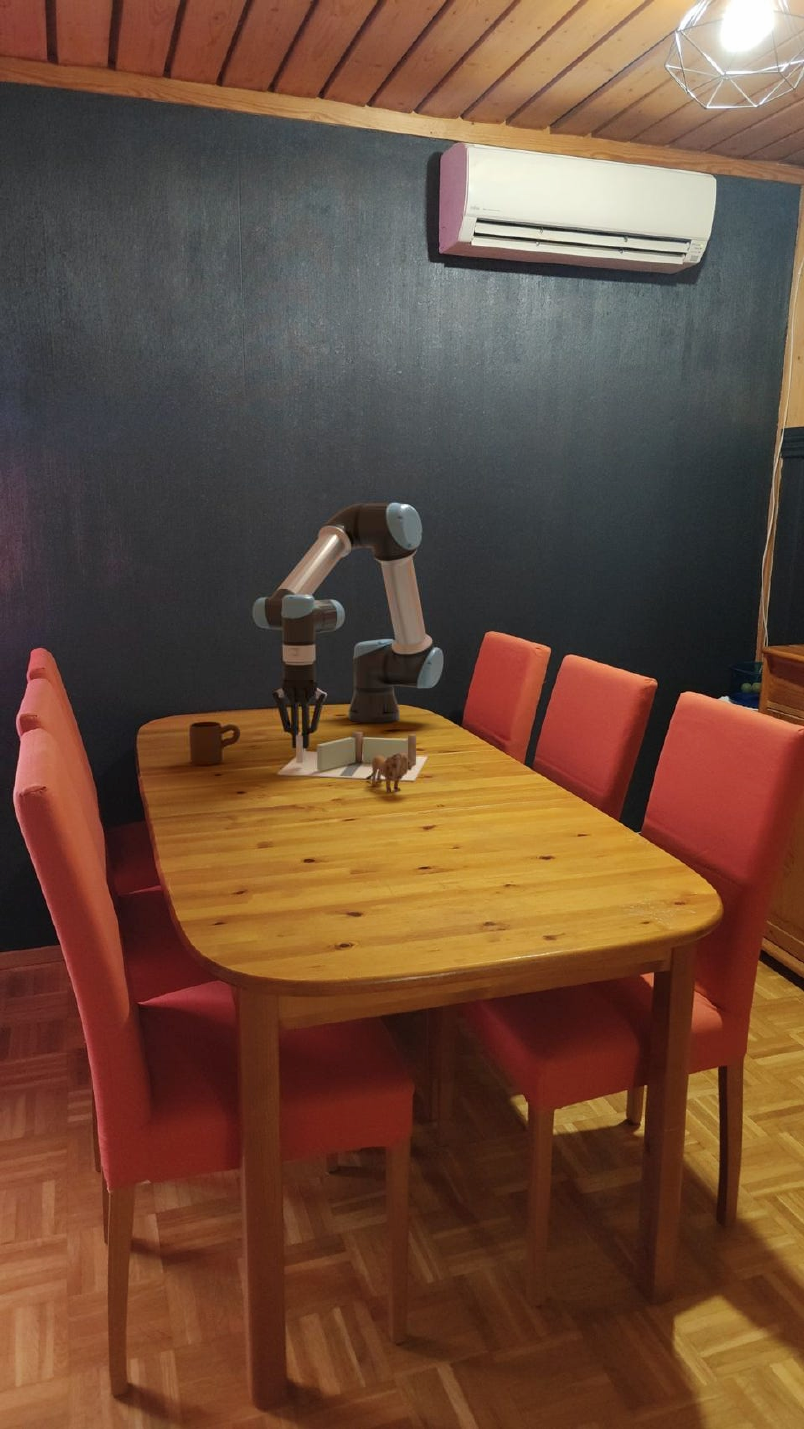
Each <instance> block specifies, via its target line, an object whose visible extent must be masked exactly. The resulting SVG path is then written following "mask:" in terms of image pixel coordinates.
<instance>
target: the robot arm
mask: <svg viewBox="0 0 804 1429" xmlns="http://www.w3.org/2000/svg"><path fill="white" fill-rule="evenodd" d="M422 534H423V526H422V521H421V518H420V515H419V513H418V511H417V510H416V509H415V508H414V507H413V506H412V505H410V504H407V503H398V502H391V503H388V502H387V503H385V502H384V503H383V502H382V503H365V502H364V503H361V502H360V503H355V504H352V505H350V506H347V507H346V508H344V509H342V510H341V511H339V512H337V513H336V514H335V515H333V516H332V517H331V518H330V519H329V520H327V522H326V523H325V524H324V525H323V526H322V527H321V528H320V530H319V532H318V534H317V539H316V541H315V542H314V544H312V546H311V547H310V549H309V550H308V551H307V552H306V553H305V555H304V556H303V557H302V559H300V561H299V562H298V564H296V565H295V567H294V569H293V570H292V571H291V572H290V573H289V574H288V576H287V577H286V578H285V580H284V581H283V582H282V583H281V584H280V586H278V588H277V589H276V591H275V592H274V593H273V594H272V596H270V597H269V596H265V597H259V598H258V599H256V601H255V602H254V604H253V607H252V618H253V621H254V623H255V624H256V626H258V627H259V628H262V629H270V630H282V661H283V662H284V663H283V665H282V678H283V679H282V680H283V682H282V683H281V685H280V686H281V687H280V688H279V689H277V690H275V691H273V692H272V693H271V696H272V697H273V699H274V700H275V702H276V705H277V709H278V712H279V716H280V721H281V725H282V727H283V731H284V733H289V734H290V735H291V747H292V748H293V749H296V750H295V752H296V753H295V755H296V756H295V757H296V763H303V762H304V761H306V751H307V750H306V749H308V748H309V747H310V734H314V733H315V732H316V731H317V730H318V727H319V722H320V718H321V713H322V709H323V706H324V702H325V699H326V698H327V697H328V695H329V694H328V692H327V691H322V690H321V689H320V688H319V685H318V682H317V668H316V667H317V666H316V663H315V661H316V659H317V658H316V656H317V654H316V634H321V633H326V632H327V633H331V632H333V631H336V630H338V629H339V628H341V626H342V625H344V621H345V617H346V614H345V609H344V607H343V605H342V604H341V603H340V602H339V601H338V600H335V599H326V598H325V599H322V600H321V599H319V600H317V599H315V597H314V596H313V594H314V593H315V591H316V590H317V589H318V588H319V586H320V585H321V584H322V582H323V581H324V580H325V578H326V577H327V576H328V575H329V573H330V572H331V570H332V569H333V568H334V567H335V566H336V564H337V563H338V562H339V560H341V558H344V557H346V556H348V555H349V554H350V552H351V551H353V550H354V549H360V548H361V549H362V548H363V549H371V550H372V553H373V558H374V560H376V561H378V562H379V563H380V566H381V572H382V576H383V582H384V586H385V591H386V596H387V601H388V608H389V612H390V613H389V614H390V618H391V623H392V628H393V633H394V639H393V638H391V639H390V638H383V639H373V640H366V641H361V642H358V643H356V644H355V646H354V649H353V650H354V651H353V658H352V659H353V688H354V690H353V691H354V692H353V695H352V699H351V702H350V705H349V708H348V713H347V714H348V716H347V719H348V720H350V721H352V722H357V723H362V724H363V723H364V724H383V723H384V724H385V723H392V722H395V721H398V720H399V719H400V716H401V715H400V713H401V712H400V708H399V704H398V701H397V699H396V695H395V688H394V686H398V687H399V686H400V687H409V688H417V689H430V688H433V687H434V686H436V684H437V683H438V682H439V680H440V678H441V675H442V672H443V668H444V653H443V651H442V649H441V648H439V647H434V643H433V639H432V637H431V636H429V634H426V630H425V627H426V626H425V622H424V618H423V617H424V616H423V611H422V605H421V600H420V594H419V588H418V582H417V576H416V572H415V571H416V569H415V565H414V558H413V557H414V555H415V554H416V553H417V551H418V550H417V548H418V547H419V545H420V544H421V542H422V538H423V535H422ZM285 696H286V697H287V698H288V699H289V703H290V704H289V705H290V716H289V712H288V708H287V704H286V700H285V698H284V697H285ZM314 696H315V699H316V702H315V703H314V710H313V712H312V713H313V714H312V719H311V718H310V705H311V700H312V698H313V697H314ZM300 707H301V730H300V710H299V708H300ZM310 719H311V720H310ZM310 721H311V722H310ZM300 731H301V732H300Z"/></svg>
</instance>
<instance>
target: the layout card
mask: <svg viewBox="0 0 804 1429" xmlns="http://www.w3.org/2000/svg"><path fill="white" fill-rule="evenodd" d="M428 758H429V756H417V755H416V765H413V767H411V770H410V771H409V770H408V772H407V774H405V775H404V776H402V779H400V780H399V782H409V783H410V782H412V783H414V782H415V781H416V780H417V778H418V776H419V774H420V772H421V770H422V768H423V767H424V765H425V764H426V761H427V760H428ZM362 759H363V753H362ZM378 771H379V770H378ZM378 771H377V774H378ZM372 772H373V770H372V763H363V762H361V763H351V764H347V765H343V766H340V767H336V768H332V769H328V770H324V771H320V770H317V751H307V750H306V761H304V762H303V763H296V756H295V757H294V758H293V759H292V760H290V762H289V763H288V764H286V765H285V766H283V768H281V770H280V771H278V772H277V773H276V776H287V777H289V776H291V777H308V778H309V777H310V778H311V777H312V778H313V777H314V778H327V779H328V778H330V779H332V778H333V779H350V780H352V779H353V780H367V781H368V780H371V781H372V778H371V779H366V777H368V776H370V775H371V774H372ZM377 774H376V780H375V781H377ZM372 777H373V776H372ZM380 778H381V779H382V781H386V780H385V777H384V776H382V775H381V776H380ZM391 781H392V782H394V780H391Z"/></svg>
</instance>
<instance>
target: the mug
mask: <svg viewBox="0 0 804 1429" xmlns="http://www.w3.org/2000/svg"><path fill="white" fill-rule="evenodd" d="M221 725H222V724H221V723H220V722H218V721H198V722H192V723H191V724H190V725H189V731H188V734H189V754H190V756H189V757H190V762H191V764H192V765H195V766H198V765H199V767H200V766H201V767H202V766H203V767H206V766H207V767H208V766H209V767H211V766H216V765H219V764H220V763H222V761H223V749H224V748H226V747H228V746H231V745H234V744H236V743H237V742H238V741H239V739H240V736H241V730H240V728H239V727H238V726H237V725H234V724H231V723H230V724H227V725H225V726H221ZM230 731H231V732H233V735H232V736H231V737H229V738H224V739H223V734H226V733H228V732H230Z"/></svg>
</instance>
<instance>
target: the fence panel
mask: <svg viewBox="0 0 804 1429" xmlns="http://www.w3.org/2000/svg"><path fill="white" fill-rule="evenodd" d="M316 752H317V770H320V771H324V770H328V769H332V768H336V767H340V766H343V765H347V764H351V763H355V738H353V737H352V736H349V737H345V738H341V739H336V740H332V741H328V742H327V741H326V742H322V743H318V744H316Z"/></svg>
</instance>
